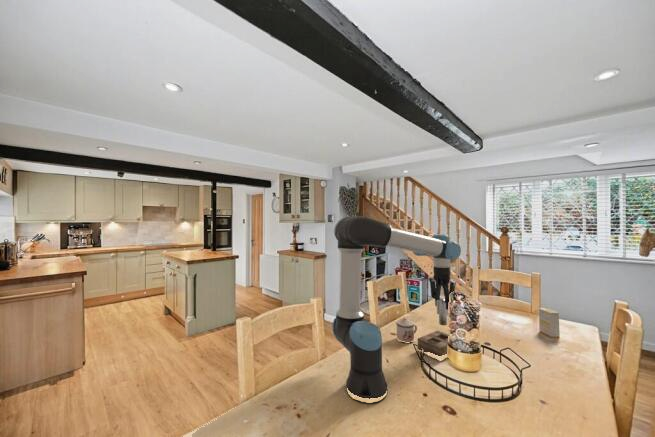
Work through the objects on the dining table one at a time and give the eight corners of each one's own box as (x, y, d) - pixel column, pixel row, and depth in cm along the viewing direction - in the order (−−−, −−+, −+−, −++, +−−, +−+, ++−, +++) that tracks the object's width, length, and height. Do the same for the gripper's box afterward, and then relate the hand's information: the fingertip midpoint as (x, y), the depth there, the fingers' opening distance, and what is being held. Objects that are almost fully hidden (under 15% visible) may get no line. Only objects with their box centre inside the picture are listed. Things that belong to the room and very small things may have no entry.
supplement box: (560, 337, 139) (559, 312, 139) (551, 337, 139) (550, 312, 139) (547, 331, 147) (546, 307, 147) (538, 331, 147) (538, 307, 147)
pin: (444, 326, 126) (443, 300, 126) (437, 323, 129) (437, 299, 129) (448, 324, 128) (447, 299, 128) (441, 322, 130) (441, 297, 131)
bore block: (440, 361, 117) (440, 348, 117) (417, 351, 127) (417, 338, 127) (460, 351, 125) (460, 338, 126) (437, 342, 135) (437, 330, 136)
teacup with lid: (403, 345, 133) (403, 322, 133) (392, 338, 141) (392, 316, 141) (422, 341, 137) (422, 318, 137) (411, 334, 145) (410, 313, 146)
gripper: (462, 267, 124) (463, 317, 123) (431, 263, 137) (432, 308, 137) (453, 269, 120) (454, 321, 119) (422, 264, 133) (423, 311, 133)
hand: (442, 314), depth 128 cm, fingers closed on pin, 3 cm apart
